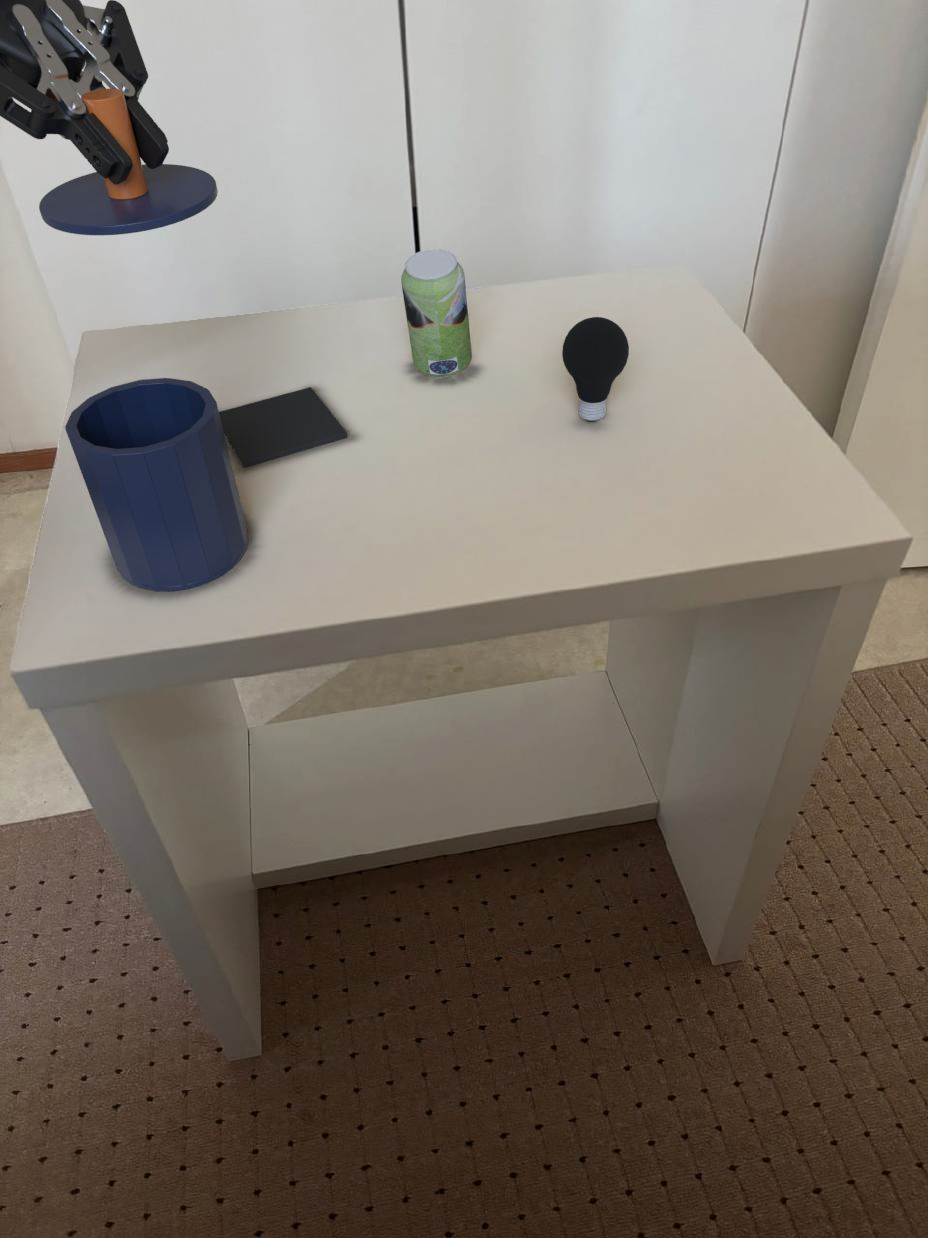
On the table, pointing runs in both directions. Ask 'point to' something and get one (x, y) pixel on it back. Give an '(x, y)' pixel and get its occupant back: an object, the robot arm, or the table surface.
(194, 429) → the tin
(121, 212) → the tin lid
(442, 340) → the beverage can
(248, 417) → the mat
